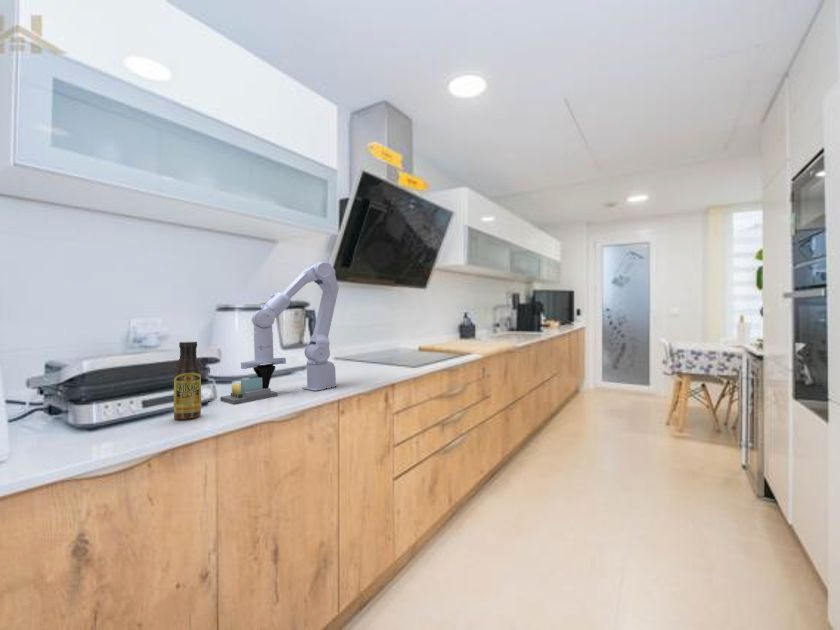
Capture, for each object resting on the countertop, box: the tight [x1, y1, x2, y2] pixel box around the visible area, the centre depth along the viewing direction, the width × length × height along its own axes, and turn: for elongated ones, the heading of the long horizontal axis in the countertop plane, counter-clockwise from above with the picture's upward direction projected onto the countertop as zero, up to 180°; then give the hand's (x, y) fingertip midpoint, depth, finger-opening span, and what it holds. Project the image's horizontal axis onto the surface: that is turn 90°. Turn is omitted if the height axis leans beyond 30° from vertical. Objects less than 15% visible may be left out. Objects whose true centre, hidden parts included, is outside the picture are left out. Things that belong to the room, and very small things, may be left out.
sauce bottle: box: [173, 340, 202, 421], centre depth 104 cm, size 6×6×20 cm
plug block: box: [240, 375, 263, 395], centre depth 126 cm, size 5×4×6 cm
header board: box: [219, 382, 279, 406], centre depth 126 cm, size 14×9×5 cm, turn 141°
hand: (264, 388), depth 130 cm, fingers closed
